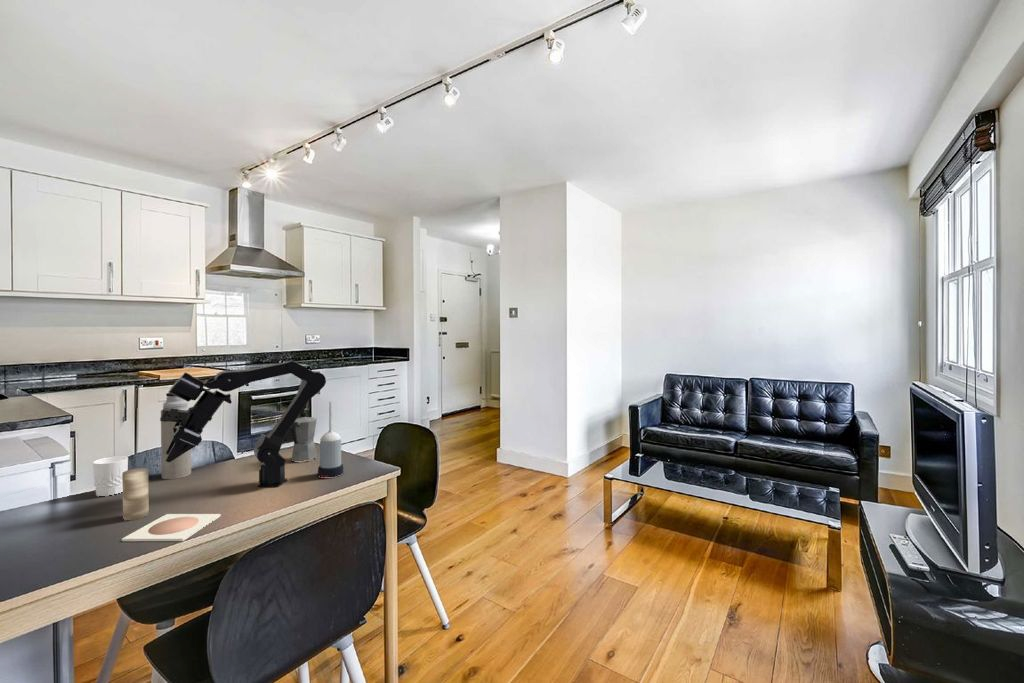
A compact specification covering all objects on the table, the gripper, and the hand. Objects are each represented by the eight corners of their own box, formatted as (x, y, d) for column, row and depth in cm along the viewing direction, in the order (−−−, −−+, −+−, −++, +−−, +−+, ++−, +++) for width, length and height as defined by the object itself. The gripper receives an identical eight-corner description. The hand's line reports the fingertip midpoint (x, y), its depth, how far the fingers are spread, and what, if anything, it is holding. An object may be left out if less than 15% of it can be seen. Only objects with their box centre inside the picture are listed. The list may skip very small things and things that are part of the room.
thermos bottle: (184, 470, 157) (183, 390, 156) (195, 474, 153) (194, 392, 152) (157, 476, 150) (156, 392, 149) (167, 480, 146) (166, 394, 145)
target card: (220, 516, 119) (220, 513, 119) (182, 541, 105) (182, 538, 105) (166, 516, 119) (166, 513, 119) (121, 541, 105) (121, 538, 105)
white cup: (107, 488, 139) (107, 456, 138) (135, 487, 139) (134, 455, 139) (85, 498, 131) (85, 464, 131) (114, 497, 131) (114, 463, 131)
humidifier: (319, 480, 148) (319, 404, 147) (316, 473, 155) (316, 400, 154) (345, 476, 152) (345, 402, 151) (341, 469, 159) (341, 399, 158)
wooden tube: (153, 512, 121) (153, 468, 121) (138, 520, 116) (137, 474, 116) (134, 512, 121) (133, 468, 121) (117, 520, 116) (116, 474, 116)
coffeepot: (300, 454, 178) (299, 409, 177) (323, 454, 177) (323, 409, 177) (279, 466, 162) (279, 416, 162) (305, 466, 162) (305, 416, 162)
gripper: (175, 392, 135) (138, 438, 131) (176, 400, 121) (134, 453, 116) (212, 409, 141) (178, 455, 136) (217, 419, 126) (179, 470, 121)
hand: (167, 457), depth 127 cm, fingers open, 9 cm apart
